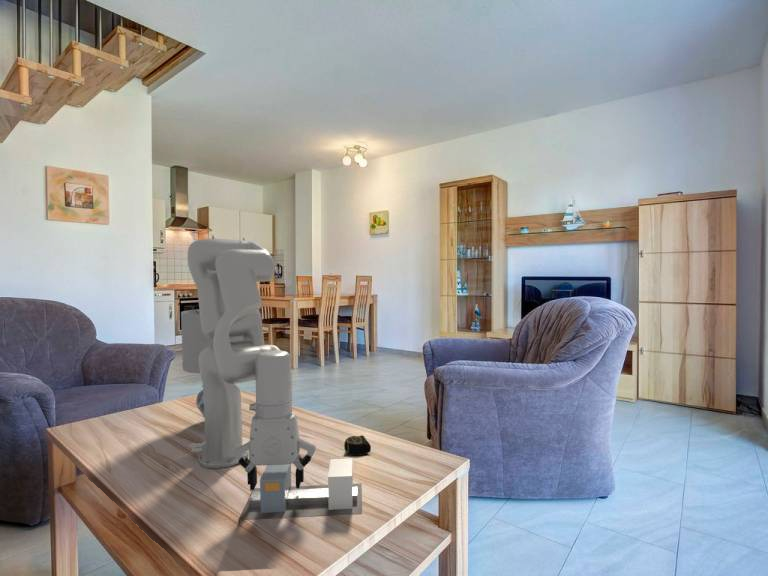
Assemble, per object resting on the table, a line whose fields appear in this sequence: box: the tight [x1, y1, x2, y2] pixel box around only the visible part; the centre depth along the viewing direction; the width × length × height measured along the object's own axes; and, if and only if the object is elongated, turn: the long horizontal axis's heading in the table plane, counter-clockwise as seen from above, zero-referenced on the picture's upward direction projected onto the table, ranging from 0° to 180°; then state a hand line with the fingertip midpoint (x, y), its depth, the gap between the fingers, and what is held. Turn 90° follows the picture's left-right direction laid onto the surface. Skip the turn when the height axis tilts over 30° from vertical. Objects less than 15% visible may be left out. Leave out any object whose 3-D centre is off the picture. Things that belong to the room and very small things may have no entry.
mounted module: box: [327, 458, 354, 510], centre depth 89 cm, size 5×8×7 cm, turn 4°
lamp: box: [180, 308, 244, 424], centre depth 139 cm, size 22×22×38 cm
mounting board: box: [237, 482, 363, 525], centre depth 89 cm, size 25×12×1 cm, turn 94°
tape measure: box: [343, 434, 372, 456], centre depth 114 cm, size 7×7×4 cm
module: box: [259, 464, 292, 513], centre depth 88 cm, size 5×8×7 cm, turn 4°
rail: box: [248, 487, 357, 507], centre depth 89 cm, size 23×4×2 cm, turn 94°
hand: (276, 486), depth 88 cm, fingers open, 9 cm apart
